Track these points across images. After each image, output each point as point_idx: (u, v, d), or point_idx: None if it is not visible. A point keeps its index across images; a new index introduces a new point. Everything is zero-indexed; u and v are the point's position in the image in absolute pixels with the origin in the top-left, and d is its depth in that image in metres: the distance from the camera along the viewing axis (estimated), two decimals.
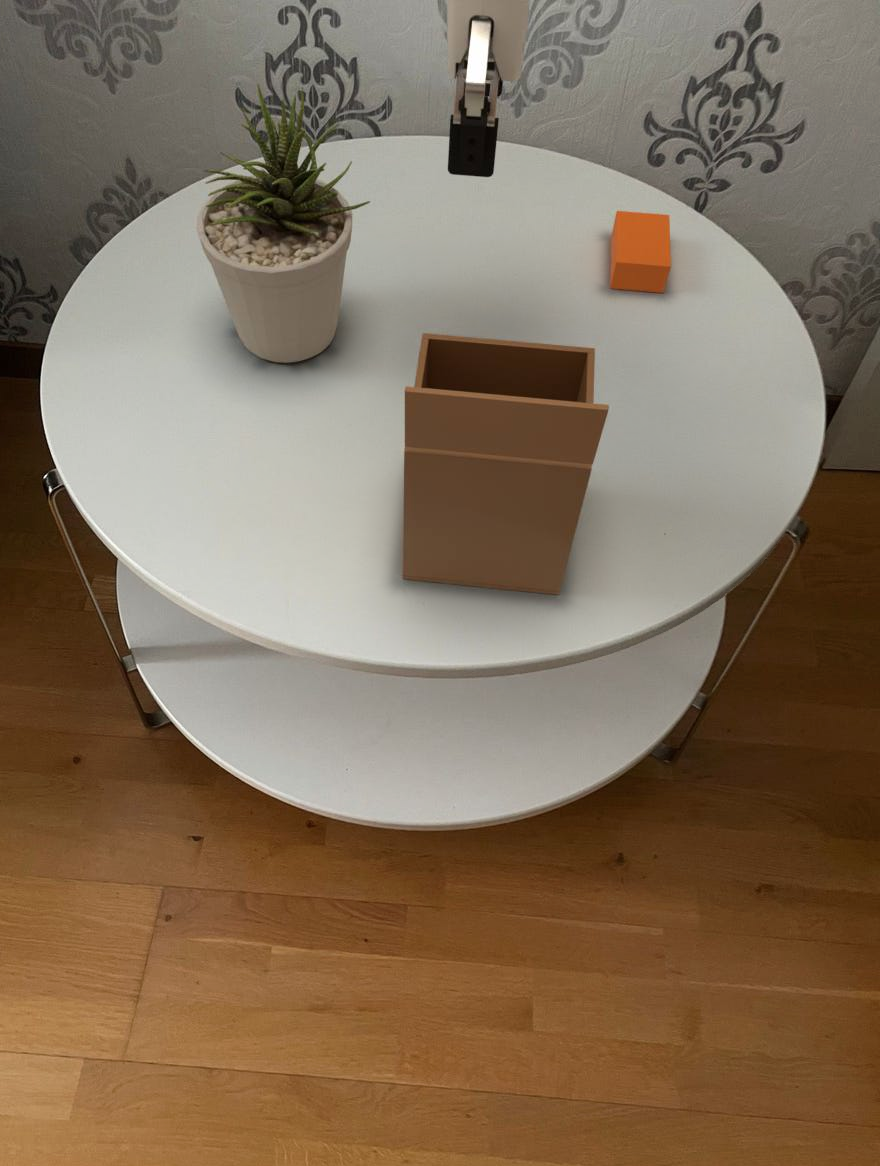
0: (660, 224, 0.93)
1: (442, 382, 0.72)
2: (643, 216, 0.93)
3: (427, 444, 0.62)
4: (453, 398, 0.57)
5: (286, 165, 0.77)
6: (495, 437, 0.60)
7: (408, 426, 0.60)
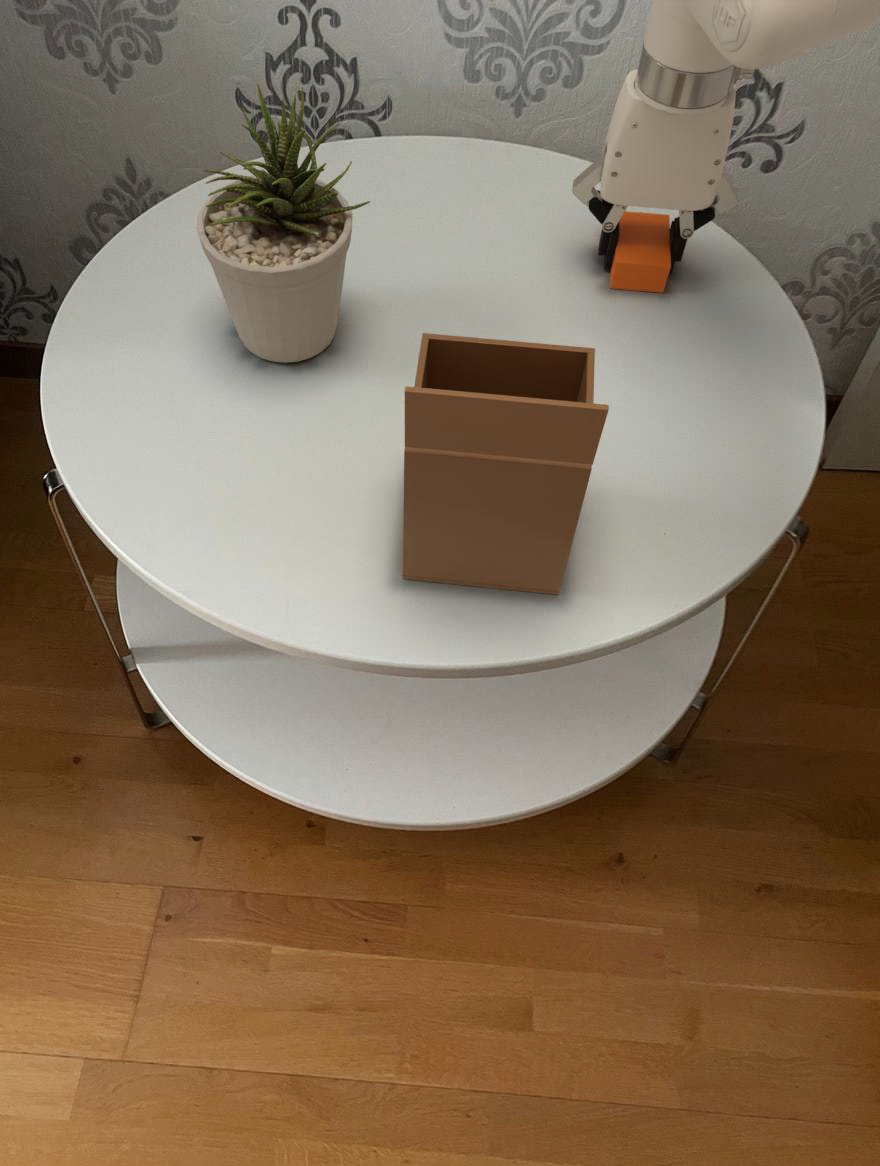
0: (660, 224, 0.93)
1: (442, 382, 0.72)
2: (643, 216, 0.93)
3: (427, 444, 0.62)
4: (453, 398, 0.57)
5: (286, 165, 0.77)
6: (495, 437, 0.60)
7: (408, 426, 0.60)
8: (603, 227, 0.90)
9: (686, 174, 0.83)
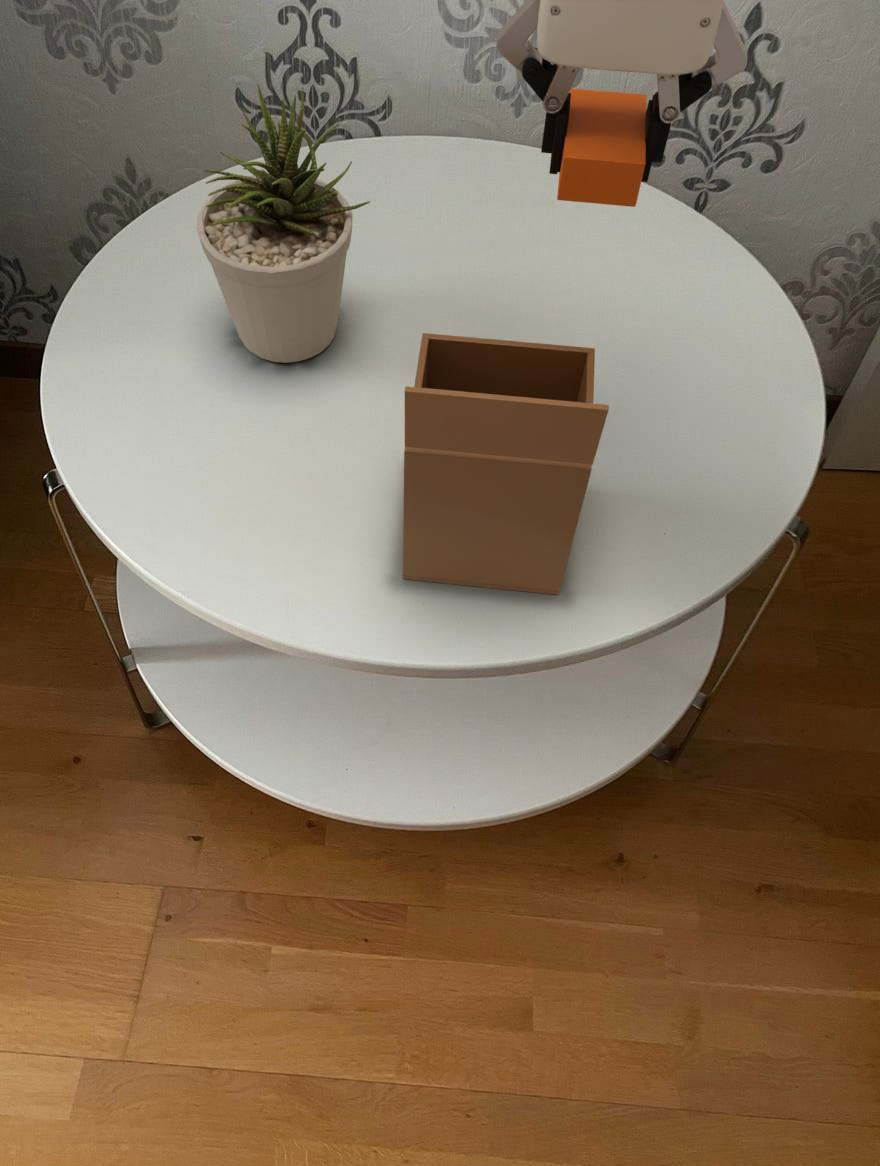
0: (632, 107, 0.63)
1: (442, 382, 0.72)
2: (608, 96, 0.64)
3: (427, 444, 0.62)
4: (453, 398, 0.57)
5: (286, 165, 0.77)
6: (495, 437, 0.60)
7: (408, 426, 0.60)
8: (545, 105, 0.60)
9: (666, 9, 0.54)
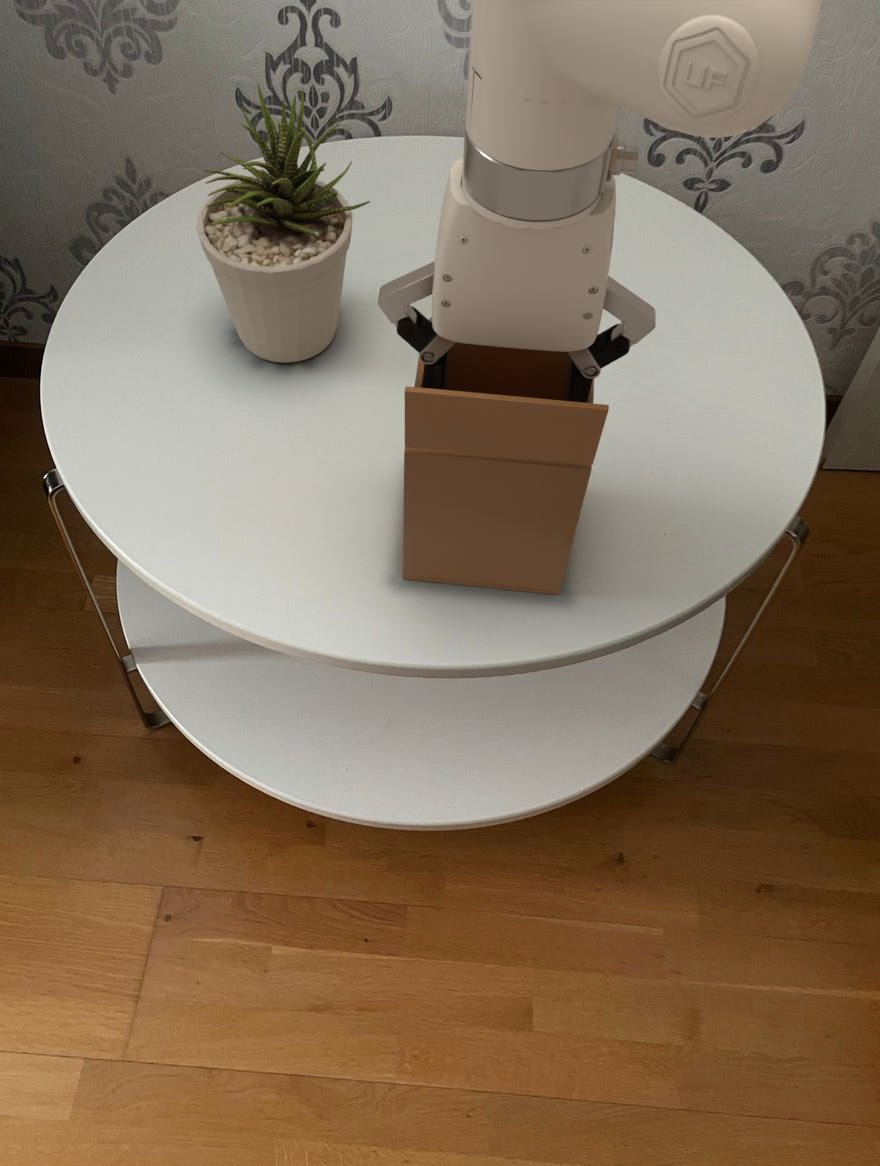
0: None
1: None
2: None
3: (427, 444, 0.62)
4: (453, 398, 0.57)
5: (286, 165, 0.77)
6: (495, 437, 0.60)
7: (408, 426, 0.60)
8: (421, 358, 0.62)
9: (549, 306, 0.56)
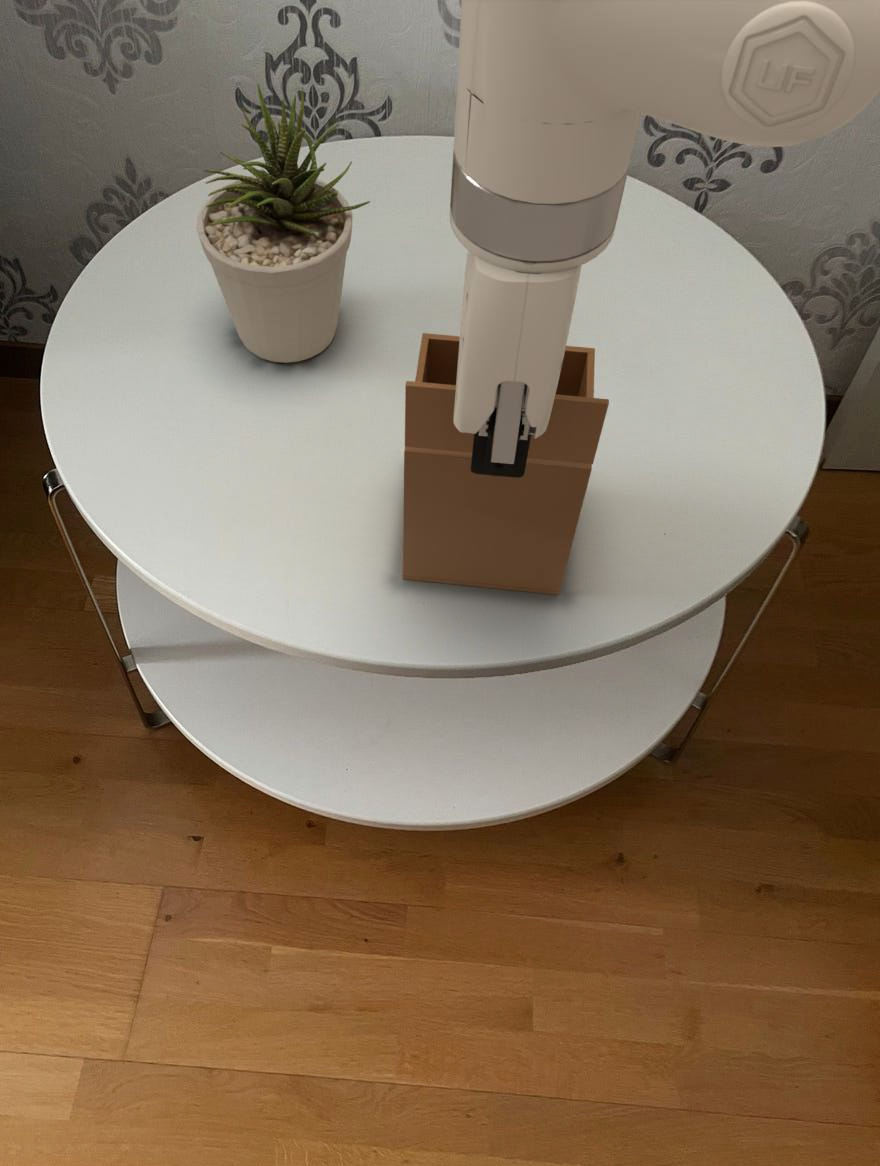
0: None
1: (442, 382, 0.72)
2: None
3: (427, 443, 0.62)
4: (454, 392, 0.58)
5: (286, 165, 0.77)
6: None
7: (408, 424, 0.60)
8: None
9: None
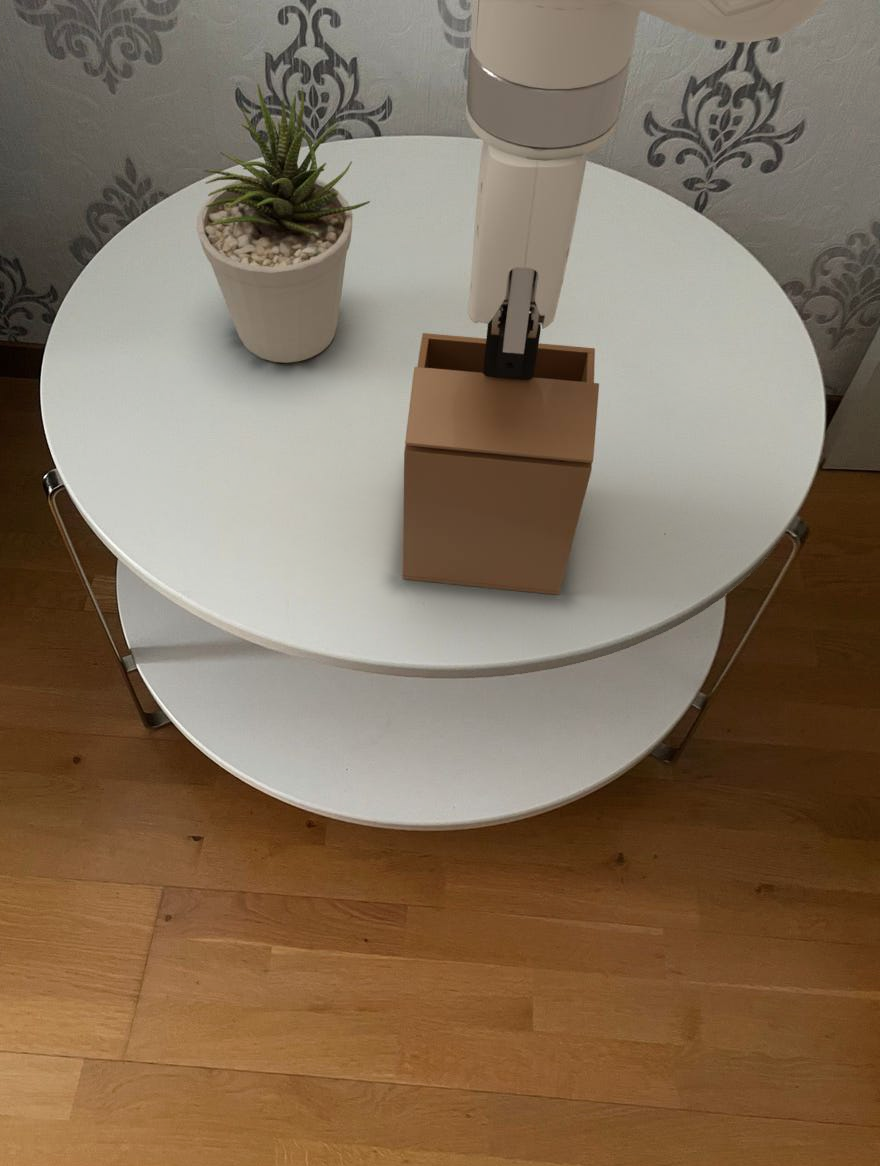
0: None
1: None
2: None
3: (428, 437, 0.62)
4: (458, 373, 0.63)
5: (286, 165, 0.77)
6: (496, 424, 0.62)
7: (412, 412, 0.63)
8: None
9: None
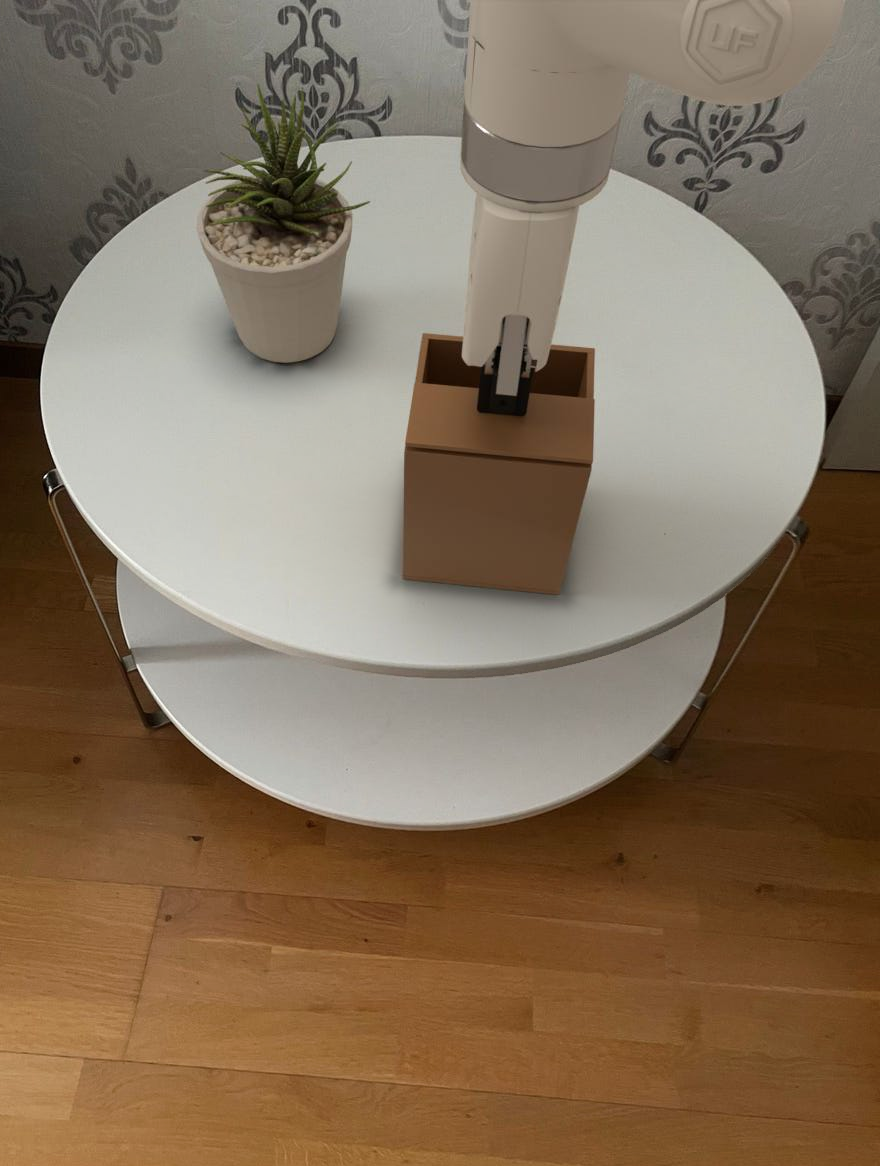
0: None
1: (442, 382, 0.72)
2: None
3: (429, 438, 0.62)
4: (457, 388, 0.65)
5: (286, 165, 0.77)
6: (496, 429, 0.63)
7: (412, 418, 0.63)
8: None
9: None
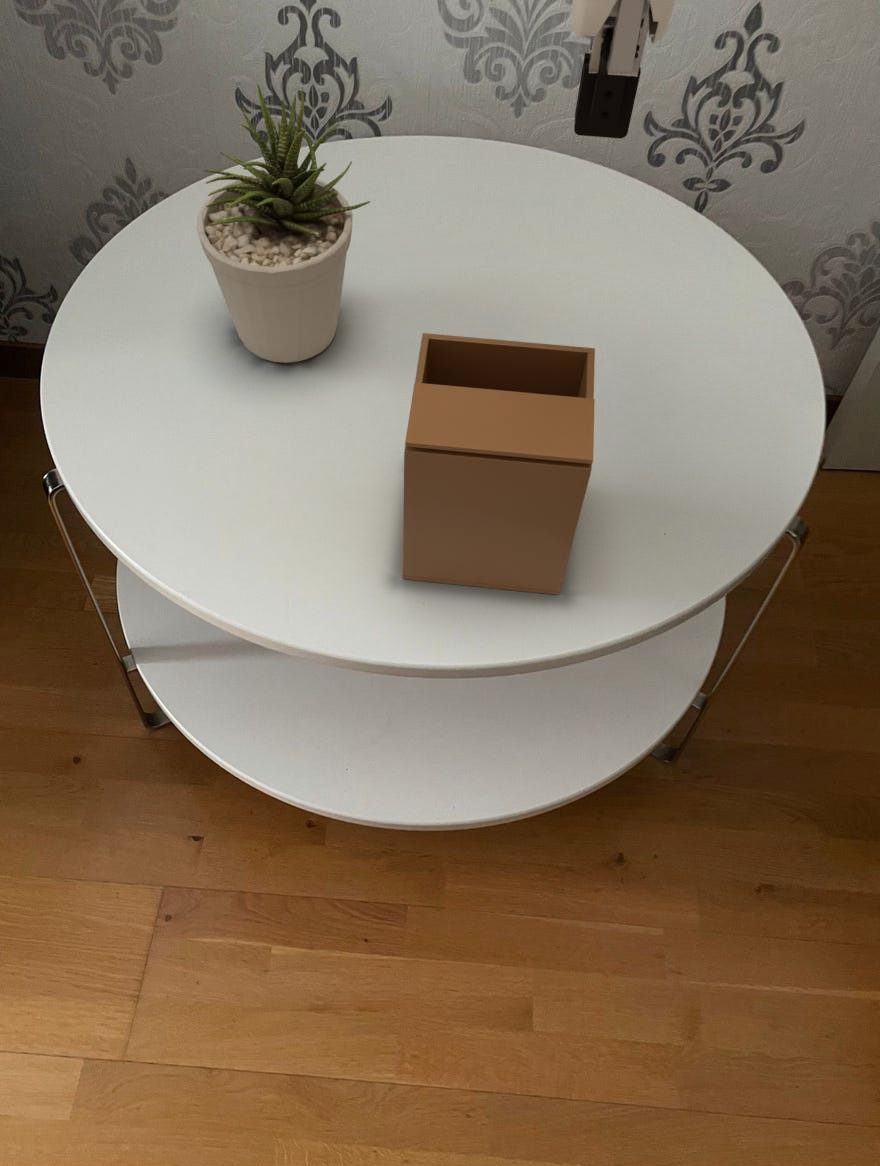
0: None
1: (442, 382, 0.72)
2: None
3: (429, 438, 0.62)
4: (457, 388, 0.65)
5: (286, 165, 0.77)
6: (496, 429, 0.63)
7: (412, 418, 0.63)
8: (636, 72, 0.55)
9: None
